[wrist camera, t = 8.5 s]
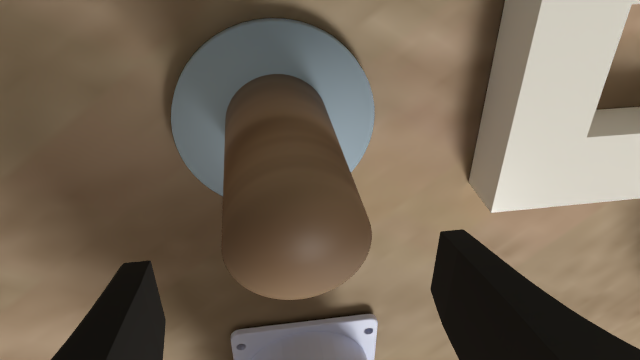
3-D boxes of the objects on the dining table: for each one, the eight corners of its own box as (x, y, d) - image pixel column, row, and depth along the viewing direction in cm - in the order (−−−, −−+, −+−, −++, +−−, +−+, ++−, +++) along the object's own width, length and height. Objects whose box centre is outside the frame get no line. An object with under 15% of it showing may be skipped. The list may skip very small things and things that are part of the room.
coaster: (365, 191, 22) (368, 199, 22) (188, 206, 21) (187, 215, 21) (376, 13, 18) (381, 18, 17) (155, 22, 17) (152, 26, 16)
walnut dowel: (325, 162, 20) (366, 292, 14) (229, 168, 20) (228, 305, 14) (328, 71, 18) (377, 177, 12) (220, 75, 18) (213, 188, 11)
